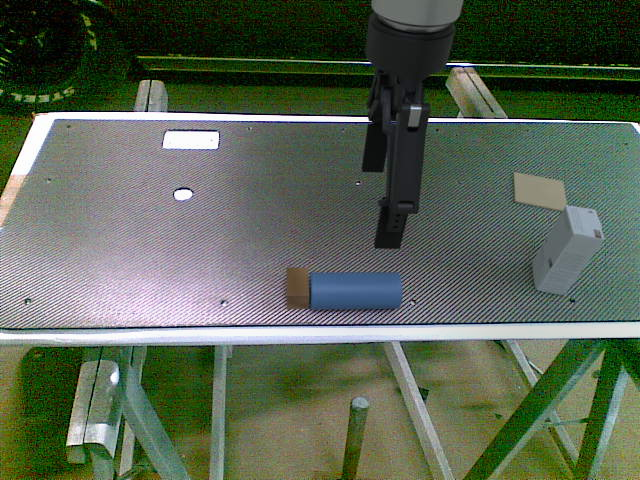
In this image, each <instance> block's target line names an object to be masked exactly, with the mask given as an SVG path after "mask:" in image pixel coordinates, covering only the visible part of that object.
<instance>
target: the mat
mask: <svg viewBox="0 0 640 480" xmlns="http://www.w3.org/2000/svg"><path fill="white" fill-rule="evenodd" d="M512 177H513V201H514V203H516V204H520V205H527V206H531V207H535V208H541V209H546V210H550V211H551V210H552V211H556V212H561V213H562V211H563V209H564V207H565V206H568V201H567V196H566V190H565V184H564V181H563V180H559V179H554V178H548V177H542V176H537V175H533V174H527V173H522V172H517V171H513V173H512Z"/></svg>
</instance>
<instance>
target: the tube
mask: <svg viewBox="0 0 640 480" xmlns="http://www.w3.org/2000/svg"><path fill="white" fill-rule="evenodd" d="M402 302H403V281H402V277H401V275H400V272H398V271H343V272H342V271H341V272H340V271H337V272H333V271H331V272H330V271H329V272H325V271H323V272H321V271H320V272H317V271H314V272H310V273H309V309H310V310H312V311H315V310H316V311H319V310H321V311H322V310H323V311H325V310H326V311H327V310H399V309H401V307H402V306H401V305H402Z"/></svg>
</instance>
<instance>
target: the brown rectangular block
mask: <svg viewBox="0 0 640 480" xmlns="http://www.w3.org/2000/svg"><path fill="white" fill-rule="evenodd" d="M309 309H310V274H309V267H286V310H309Z"/></svg>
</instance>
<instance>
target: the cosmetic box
mask: <svg viewBox="0 0 640 480" xmlns="http://www.w3.org/2000/svg"><path fill="white" fill-rule="evenodd" d="M604 242H605V235H604V233H603V226H602V222H601V221H600V219H599V216H598V212H597V209H593V208H587V207H580V206H575V205H567V206H565V207H564V209H563V211H562V212H561V213H560V215H558V218H557V219H556V220H555V223H554V224H553V226H552V228H551V230H550V231H549V232H548V234H547V236H546V238H545V240H544V241H543V243H542V245H541V247H540V248H539V250H538V251H537V253H536V255H535V256H534V258H533V260H532V263H531V266H532V269H531V270H532V277H533V283H534V289H535V290H536V291H539V292H542V293H548V294H551V295H552V294H553V295H558V296H565V295H566V294H567V292H568V291H569V290H570V288H571V287H572V286H573V284H574V283H575V282H576V280H577V279H578V277H579V276H580V275H581V273H582V272H583V271H584V269H585V268H586V266H588V264H589V262H590V261H591V260H592V258H593V257H594V255H595V254H596V253H597V251H598V250H599V249H600V248H601V246H602V245H603V243H604Z"/></svg>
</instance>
